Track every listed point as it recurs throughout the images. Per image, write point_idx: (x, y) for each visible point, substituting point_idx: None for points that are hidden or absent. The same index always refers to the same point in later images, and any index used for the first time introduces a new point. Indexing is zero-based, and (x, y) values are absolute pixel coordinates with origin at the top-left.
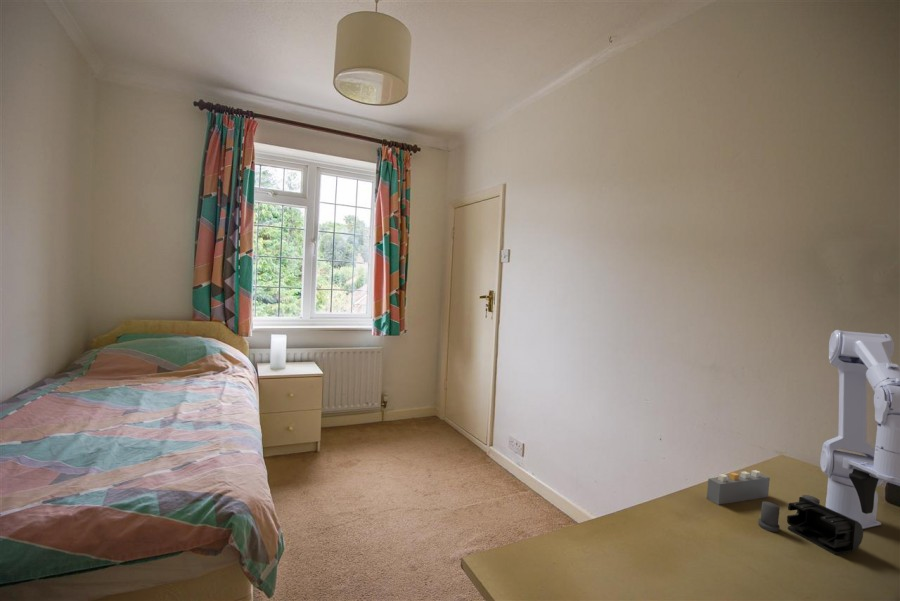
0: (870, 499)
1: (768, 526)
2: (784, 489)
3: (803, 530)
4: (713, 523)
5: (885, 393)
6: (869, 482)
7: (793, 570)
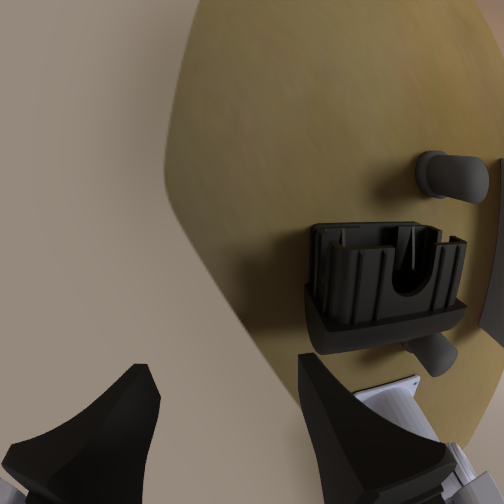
0: (313, 426)
1: (431, 153)
2: (463, 382)
3: (396, 229)
4: (449, 51)
5: None
6: (339, 500)
7: (275, 22)
